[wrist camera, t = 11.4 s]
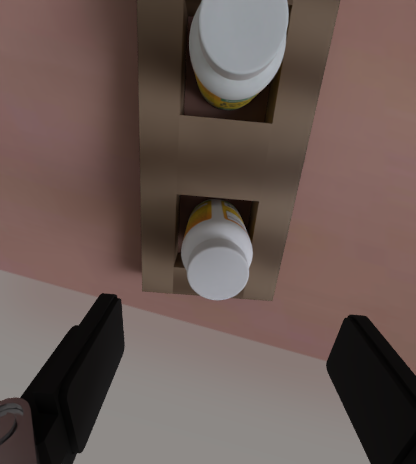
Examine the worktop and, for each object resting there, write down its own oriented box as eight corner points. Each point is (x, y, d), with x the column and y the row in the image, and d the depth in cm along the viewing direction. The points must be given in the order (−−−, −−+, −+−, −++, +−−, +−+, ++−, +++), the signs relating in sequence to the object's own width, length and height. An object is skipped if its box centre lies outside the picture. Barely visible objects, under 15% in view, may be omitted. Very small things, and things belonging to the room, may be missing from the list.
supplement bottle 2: (188, 246, 25) (175, 308, 16) (188, 196, 23) (174, 234, 14) (239, 248, 25) (255, 311, 16) (244, 198, 23) (265, 237, 14)
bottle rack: (147, -43, 17) (135, -79, 14) (328, -22, 17) (352, -54, 14) (149, 275, 26) (142, 291, 23) (265, 283, 27) (272, 300, 24)
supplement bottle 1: (243, 18, 18) (277, -102, 9) (272, 89, 20) (324, 48, 11) (183, 59, 19) (159, -11, 10) (215, 124, 21) (219, 113, 12)
